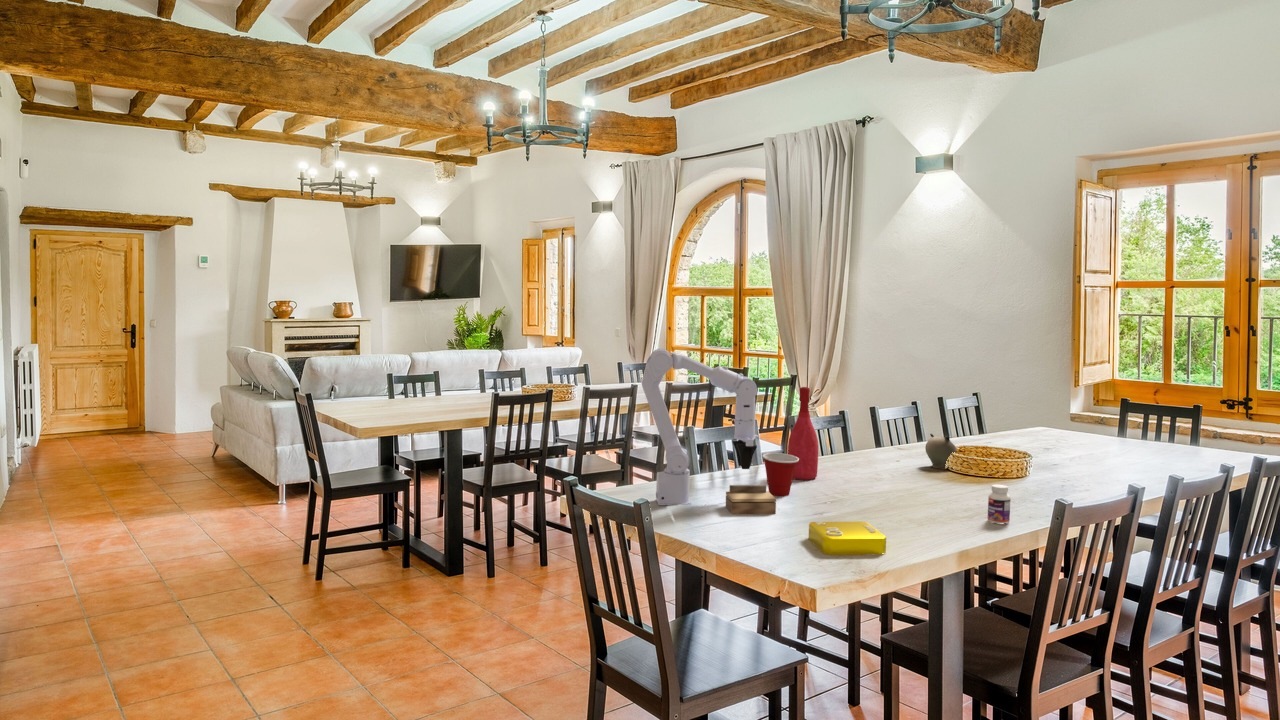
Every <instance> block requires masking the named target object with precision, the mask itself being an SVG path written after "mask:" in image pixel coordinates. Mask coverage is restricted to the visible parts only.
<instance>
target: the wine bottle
mask: <svg viewBox="0 0 1280 720" xmlns="http://www.w3.org/2000/svg"><path fill="white" fill-rule="evenodd" d="M810 390H811V389H810V388H809V387H807V386H802V387H800V388H799V398H798V399H799V402H800V404H799V412H798V415H797V418H796V421H795V423H794V425H793V428H792V429H791V431H790V434H789V437H788V443H787V454H788V455H792V456H795V457H797V458H799V461H798V462H797V464H796V467H795V470H794V475H793V479H794V480H801V481H811V480H814V479H816V478H817V477H818V465H819V440H818V436H817V433H816V430H815V426H814V425H813V421H812V419H811V414H810V411H809V410H810V409H809V402H810V392H811V391H810ZM793 479H792V480H793Z"/></svg>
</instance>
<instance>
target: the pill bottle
mask: <svg viewBox="0 0 1280 720" xmlns="http://www.w3.org/2000/svg"><path fill="white" fill-rule="evenodd" d="M1008 491H1009V486H1008V485H1006V484H991V492H990V493H989V494H988V503H987V521H988V522H989V521H990V522H993V523H992V524H994V522H995V523H1008V524H1009V523H1010V516H1011V500H1012V499H1011V495H1010V494H1008V493H1009V492H1008ZM990 522H989V523H990Z"/></svg>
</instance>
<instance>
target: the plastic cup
mask: <svg viewBox="0 0 1280 720" xmlns="http://www.w3.org/2000/svg"><path fill="white" fill-rule="evenodd" d="M762 458H763V462H764V466H765V475H766V482H767V488H768V491H769V492H770V493H771V494H772V495H773V496H774V497H775V496H776V497H787V496H789V495H790V493H791V487H792V485H793V484H792V483H793V475H794V470H795V467H796V464H797V462H798V461H799V458H797V457H795V456H792V455H788V453H781V452H768V453H764V454H762Z"/></svg>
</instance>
